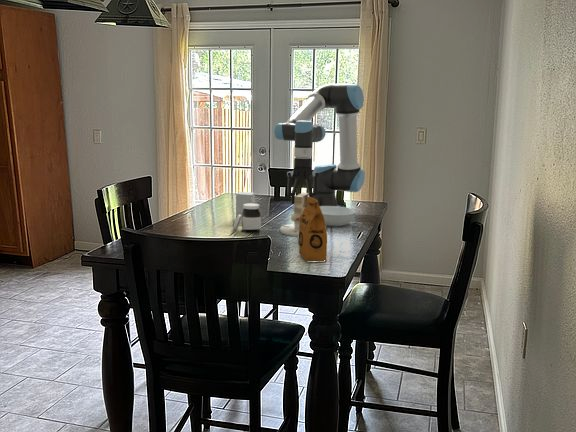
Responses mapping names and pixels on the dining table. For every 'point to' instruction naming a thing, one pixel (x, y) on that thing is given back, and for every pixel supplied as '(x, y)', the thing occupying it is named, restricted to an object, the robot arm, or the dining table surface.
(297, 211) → the lever handle
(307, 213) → the coffee package
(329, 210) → the serving bowl
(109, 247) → the dining table surface
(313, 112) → the robot arm
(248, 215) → the spread jar
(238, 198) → the supplement box
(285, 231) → the dial plate
